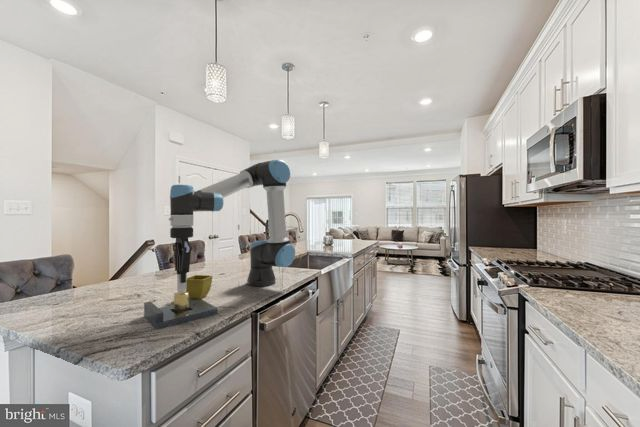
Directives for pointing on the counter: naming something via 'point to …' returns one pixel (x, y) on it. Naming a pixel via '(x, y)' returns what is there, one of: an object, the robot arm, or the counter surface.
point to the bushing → (181, 302)
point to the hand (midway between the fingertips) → (181, 291)
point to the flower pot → (198, 286)
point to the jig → (168, 317)
